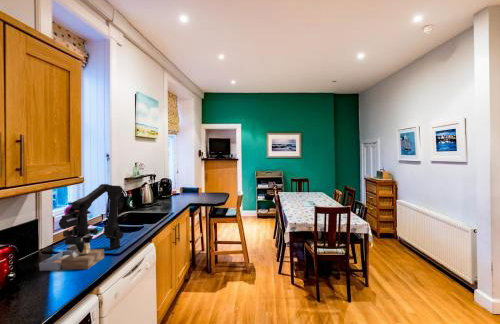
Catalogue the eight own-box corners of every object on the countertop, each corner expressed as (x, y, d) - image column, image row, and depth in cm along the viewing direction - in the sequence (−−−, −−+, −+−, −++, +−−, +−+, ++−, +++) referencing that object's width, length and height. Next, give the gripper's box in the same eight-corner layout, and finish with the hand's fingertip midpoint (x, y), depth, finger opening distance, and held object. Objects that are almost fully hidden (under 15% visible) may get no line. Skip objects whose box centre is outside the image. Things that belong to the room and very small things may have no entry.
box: (63, 257, 146) (62, 250, 146) (81, 257, 146) (80, 250, 145) (39, 270, 130) (39, 263, 130) (59, 270, 130) (59, 262, 129)
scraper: (87, 248, 143) (86, 240, 143) (95, 248, 143) (94, 239, 143) (72, 258, 131) (70, 248, 131) (81, 257, 131) (79, 248, 131)
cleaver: (66, 257, 147) (66, 253, 147) (48, 258, 145) (48, 255, 145) (91, 240, 176) (91, 237, 176) (76, 241, 175) (76, 238, 174)
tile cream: (72, 255, 143) (72, 258, 143) (65, 255, 143) (65, 258, 143) (66, 258, 138) (67, 262, 138) (58, 258, 138) (59, 262, 138)
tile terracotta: (64, 259, 137) (64, 263, 137) (56, 259, 137) (56, 263, 137) (57, 263, 132) (57, 267, 132) (49, 263, 132) (49, 267, 132)
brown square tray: (80, 257, 145) (80, 249, 144) (104, 257, 144) (103, 248, 144) (61, 269, 131) (61, 260, 130) (88, 269, 130) (87, 259, 130)
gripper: (79, 219, 146) (80, 245, 147) (53, 229, 127) (55, 259, 128) (97, 218, 146) (99, 244, 146) (74, 228, 127) (76, 258, 128)
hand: (83, 251), depth 137 cm, fingers closed on scraper, 3 cm apart
